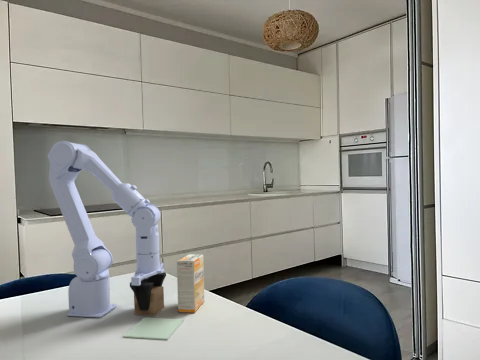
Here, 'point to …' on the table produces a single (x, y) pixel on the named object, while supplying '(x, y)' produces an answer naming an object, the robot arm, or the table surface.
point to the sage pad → (154, 328)
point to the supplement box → (190, 282)
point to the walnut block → (152, 302)
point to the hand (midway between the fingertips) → (149, 305)
